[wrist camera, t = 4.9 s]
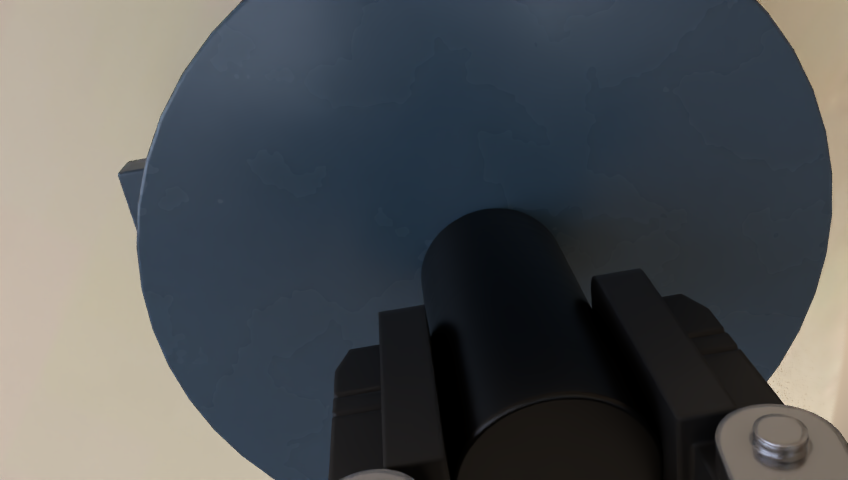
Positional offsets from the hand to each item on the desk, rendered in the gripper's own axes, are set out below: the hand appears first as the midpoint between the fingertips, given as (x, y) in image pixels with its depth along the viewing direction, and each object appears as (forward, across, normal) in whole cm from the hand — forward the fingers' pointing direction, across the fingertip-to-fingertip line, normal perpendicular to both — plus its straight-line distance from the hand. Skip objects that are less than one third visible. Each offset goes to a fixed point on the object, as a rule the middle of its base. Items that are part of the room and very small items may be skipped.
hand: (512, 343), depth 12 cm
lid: (+3, 0, 0) cm, 3 cm away
